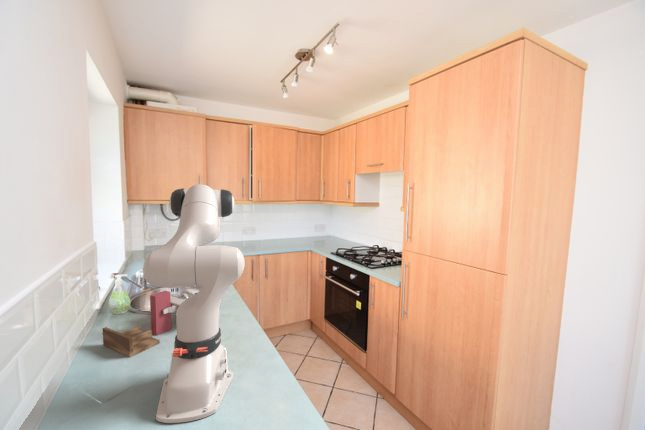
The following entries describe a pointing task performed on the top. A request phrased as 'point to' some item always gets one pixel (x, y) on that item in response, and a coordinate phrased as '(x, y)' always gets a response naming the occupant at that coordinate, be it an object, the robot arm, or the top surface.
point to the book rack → (129, 341)
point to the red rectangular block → (159, 319)
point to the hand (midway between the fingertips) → (158, 310)
